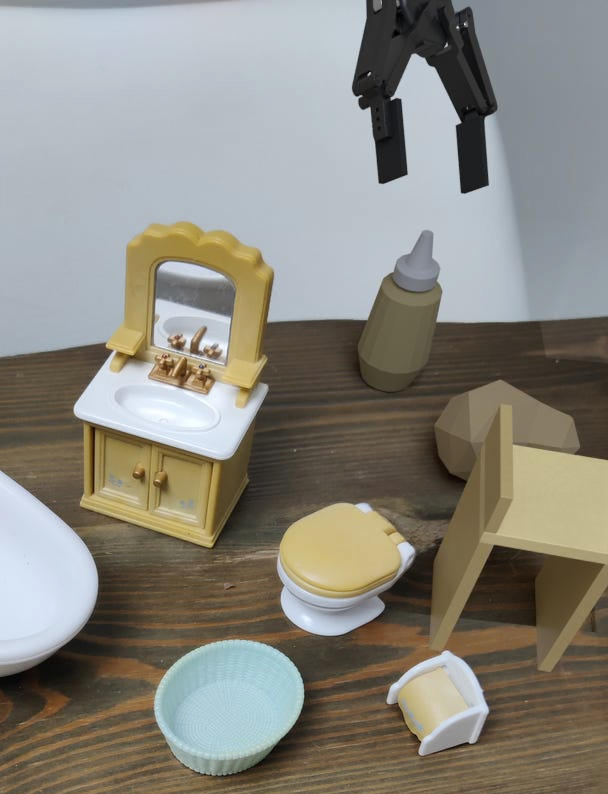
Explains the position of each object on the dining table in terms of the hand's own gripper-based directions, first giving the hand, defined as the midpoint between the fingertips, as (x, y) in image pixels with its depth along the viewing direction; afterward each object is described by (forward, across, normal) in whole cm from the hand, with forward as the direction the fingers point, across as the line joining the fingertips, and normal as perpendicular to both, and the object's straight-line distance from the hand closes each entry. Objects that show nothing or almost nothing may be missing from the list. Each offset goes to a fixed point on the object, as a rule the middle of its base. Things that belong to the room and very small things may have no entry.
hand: (435, 185), depth 95 cm
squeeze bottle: (+16, -9, -14) cm, 24 cm away
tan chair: (+41, +6, +6) cm, 42 cm away
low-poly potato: (+28, -8, -1) cm, 29 cm away
